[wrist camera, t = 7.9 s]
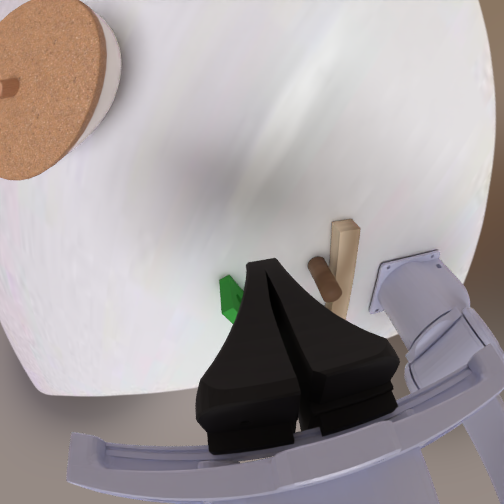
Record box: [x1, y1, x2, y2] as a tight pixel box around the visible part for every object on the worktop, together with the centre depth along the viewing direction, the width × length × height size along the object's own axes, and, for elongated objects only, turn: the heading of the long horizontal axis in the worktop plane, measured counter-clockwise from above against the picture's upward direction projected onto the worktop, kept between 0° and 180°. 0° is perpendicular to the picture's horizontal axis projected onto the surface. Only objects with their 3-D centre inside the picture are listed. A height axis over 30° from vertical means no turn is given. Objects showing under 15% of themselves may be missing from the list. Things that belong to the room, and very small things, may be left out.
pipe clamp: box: [219, 275, 244, 324], centre depth 27 cm, size 11×4×5 cm, turn 30°
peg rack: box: [308, 219, 360, 320], centre depth 26 cm, size 4×16×4 cm, turn 7°
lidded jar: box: [0, 0, 122, 180], centre depth 10 cm, size 11×11×9 cm
